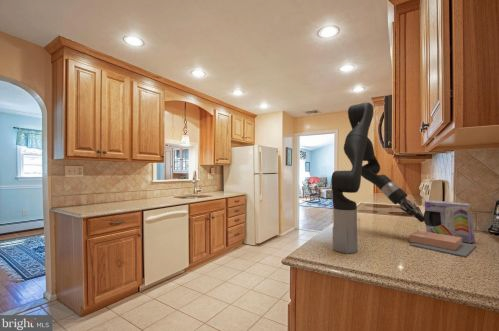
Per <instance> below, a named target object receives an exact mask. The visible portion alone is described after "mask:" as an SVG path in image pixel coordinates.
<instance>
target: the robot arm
mask: <svg viewBox="0 0 499 331" xmlns="http://www.w3.org/2000/svg"><path fill="white" fill-rule="evenodd" d="M347 117H348V120H349V123H350V126H351V130H350V131H349V132H348V134H347V135H346V137H345V139H344V140H345V141H344V144H343V151H344V154H345V155H346V157H347V158H348V160H349V161H350V163H351V166H352V167H351V169H350V170H335V171H332V172H333V173H332V175H331V177H330V178H331V180H330V182H331V195H332V196H331V199H332V201H331V202H332V211H333V212H332V213H333V216H332V217H333V218H332V220H333V224H332V250H333V251H336V252H340V253H342V254H346V255H347V254H355V253H357V252H358V210H357V208H358V206H357V202H356V201H354V200H351V199H350V198H348V197H346V196H345V195H344V193H348V194H351V193H352V194H353V193H354V194H356V193H358V192H359V190H360V187H361V180H362V178H363V179H365V180H367V181H368V182H370V183H372V184H374V185H375V186H376V187H377V188H378V189H379V190H380V191H381V192H382V193H383V195H385V197H387V199H388V200H389V201H391V203H392V204H394V205H399V206H400V210H402V211H403V212H405V213H406V214H408V215H410V216H413V217H414V218H416V219H417V220H418V221H419V223H423V222H424V221H425V220H426V219H425V218H424V215H423V214H421V213H420V209H419V208H418V207H417V205H416V204H415V202H412V201H411V200H410V199H409V200H408V199H407V197H408V193H407V192H406V191H404V190H403V189H402V188H401V187H400V186H399V185H398V184H397V183H395V182H394V181H392V180H391V178H389V177H388V176H387V175H386V174H379V172H380V171H381V165H380V163H379V161H378V159H377V157H376V155H375V150H374V145H373V142H372V140H371V139H370V138H369V137H368V136H369V129H370V127H371V124H372V121H373V117H374V106H373V103H370V102H362V103H358V104H352V105H350V106H349V107H348V110H347ZM364 162H367V163H366V164H364V165H363V163H364Z"/></svg>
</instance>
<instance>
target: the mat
mask: <svg viewBox="0 0 499 331" xmlns="http://www.w3.org/2000/svg"><path fill="white" fill-rule="evenodd" d="M409 247H415V248H419V249H422V250H423V249H425V250H428V251H434V252H438V253H443V254H448V255H452V256H457V257H462V258H467V257H468V256H469V255H470V254H471V253H472V252H473V251H474V250H475V248H477V245H474V244H469V243H466V242H462V245H461V246H460V247H459V248H458V249H456V250H455V251H454V250H449V249H444V248H439V247H434V246H429V245H424V244H419V243H414V242H410V244H409Z"/></svg>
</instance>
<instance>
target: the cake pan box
mask: <svg viewBox="0 0 499 331" xmlns="http://www.w3.org/2000/svg"><path fill="white" fill-rule="evenodd" d="M472 205H473V204H472V203H464V202H454V201H442V200H441V201H440V200H425V201H424V212H423V217H424V218H425V219H426V220H425V221H423V222H424V224H425V227H426V228H425V229H426V231H425V232H431V233H437V234H443V235H450V236H456V237H462V243H467V244H469V243H475V241H476V240H475V239H476V238H475V237H476V236H475V227H474V219H473V217H474V216H473V208H472V207H473V206H472Z"/></svg>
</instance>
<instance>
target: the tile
mask: <svg viewBox="0 0 499 331" xmlns="http://www.w3.org/2000/svg"><path fill="white" fill-rule="evenodd" d="M408 237H409V238H408V240H409V242H410V243H413V242H414V243H419V244H424V245H429V246H434V247H439V248H444V249H449V250H454V251H455V250H456V249H458V248H459V247H460V246H461V245H462V243H463V241H462V237H456V236H450V235H443V234H437V233H431V232H427V231H424V230H417V231H414V232H412V233H410V234H409V236H408Z"/></svg>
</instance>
